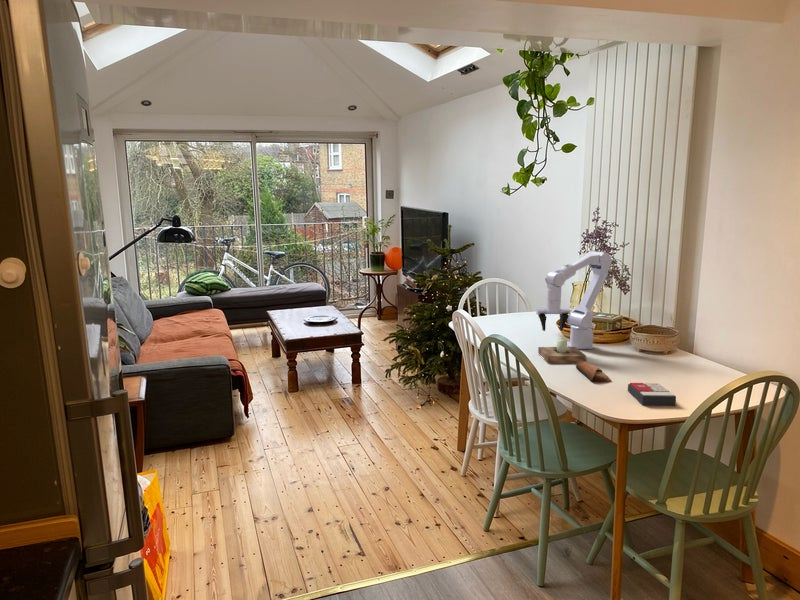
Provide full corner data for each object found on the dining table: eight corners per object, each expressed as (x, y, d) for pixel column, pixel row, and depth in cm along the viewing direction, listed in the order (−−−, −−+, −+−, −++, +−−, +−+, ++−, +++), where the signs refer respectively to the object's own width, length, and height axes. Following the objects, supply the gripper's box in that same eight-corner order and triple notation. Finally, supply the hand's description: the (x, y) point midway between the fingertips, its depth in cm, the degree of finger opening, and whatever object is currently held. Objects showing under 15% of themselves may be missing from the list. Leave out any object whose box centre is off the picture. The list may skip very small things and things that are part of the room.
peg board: (574, 353, 263) (574, 346, 262) (585, 362, 249) (586, 355, 249) (538, 353, 262) (538, 347, 262) (547, 363, 248) (547, 356, 248)
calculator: (659, 382, 215) (676, 394, 201) (658, 393, 216) (675, 406, 201) (627, 381, 216) (643, 393, 201) (627, 393, 216) (642, 406, 201)
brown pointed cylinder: (614, 382, 225) (606, 367, 223) (598, 392, 225) (590, 377, 224) (595, 367, 242) (588, 354, 241) (580, 376, 243) (573, 363, 241)
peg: (561, 356, 258) (562, 338, 257) (568, 358, 255) (569, 340, 253) (554, 357, 257) (555, 339, 255) (560, 360, 253) (561, 341, 252)
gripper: (567, 297, 266) (565, 327, 269) (534, 298, 265) (533, 328, 268) (572, 301, 259) (571, 331, 262) (539, 301, 259) (537, 332, 261)
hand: (552, 330), depth 265 cm, fingers open, 7 cm apart
